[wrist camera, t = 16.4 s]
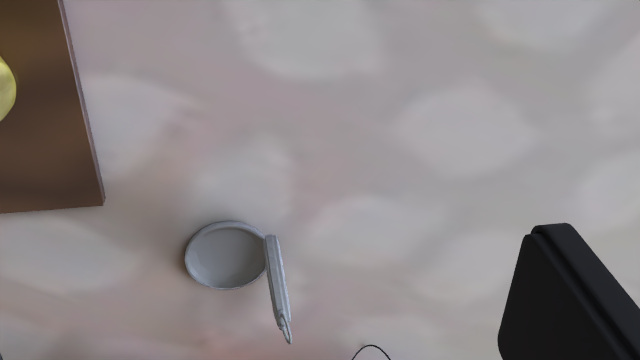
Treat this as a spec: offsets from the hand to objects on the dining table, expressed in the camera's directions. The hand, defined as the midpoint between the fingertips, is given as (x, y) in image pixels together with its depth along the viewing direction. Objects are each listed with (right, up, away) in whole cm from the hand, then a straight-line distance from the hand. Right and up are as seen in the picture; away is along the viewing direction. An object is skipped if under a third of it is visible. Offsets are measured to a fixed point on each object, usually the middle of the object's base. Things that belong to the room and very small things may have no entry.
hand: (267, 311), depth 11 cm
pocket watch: (-5, -3, +38) cm, 39 cm away
